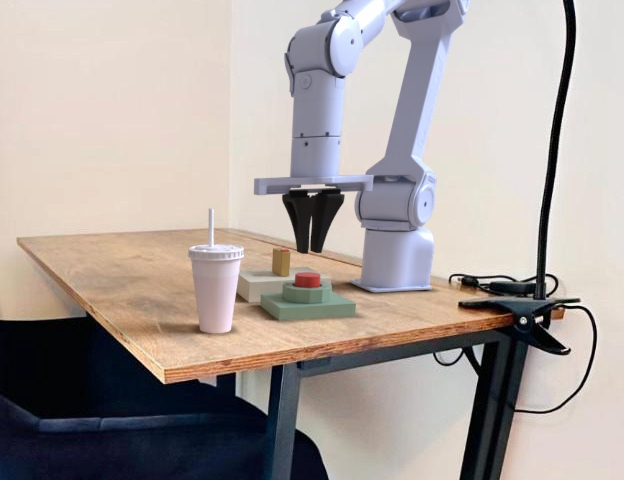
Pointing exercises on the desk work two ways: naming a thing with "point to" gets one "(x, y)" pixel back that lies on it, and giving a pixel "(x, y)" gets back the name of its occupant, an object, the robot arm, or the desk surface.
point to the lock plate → (267, 282)
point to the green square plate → (307, 303)
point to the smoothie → (215, 281)
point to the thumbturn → (281, 261)
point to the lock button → (307, 280)
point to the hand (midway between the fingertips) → (309, 252)
